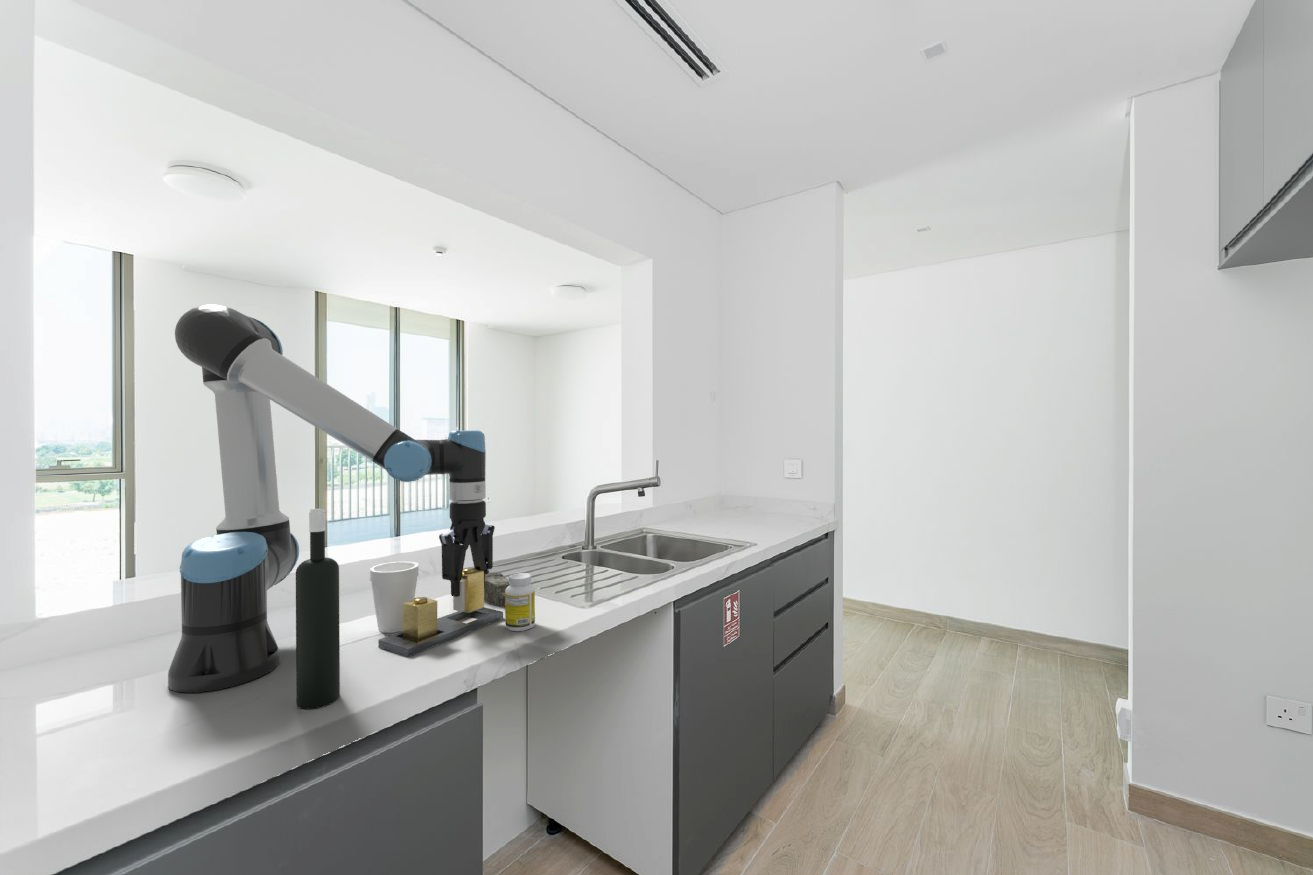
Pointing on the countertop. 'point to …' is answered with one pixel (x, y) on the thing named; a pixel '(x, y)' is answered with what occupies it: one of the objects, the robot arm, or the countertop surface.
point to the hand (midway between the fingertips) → (468, 606)
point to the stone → (495, 588)
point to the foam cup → (393, 592)
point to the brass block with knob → (419, 619)
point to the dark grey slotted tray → (441, 631)
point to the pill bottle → (519, 603)
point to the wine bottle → (317, 622)
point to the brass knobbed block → (473, 589)
